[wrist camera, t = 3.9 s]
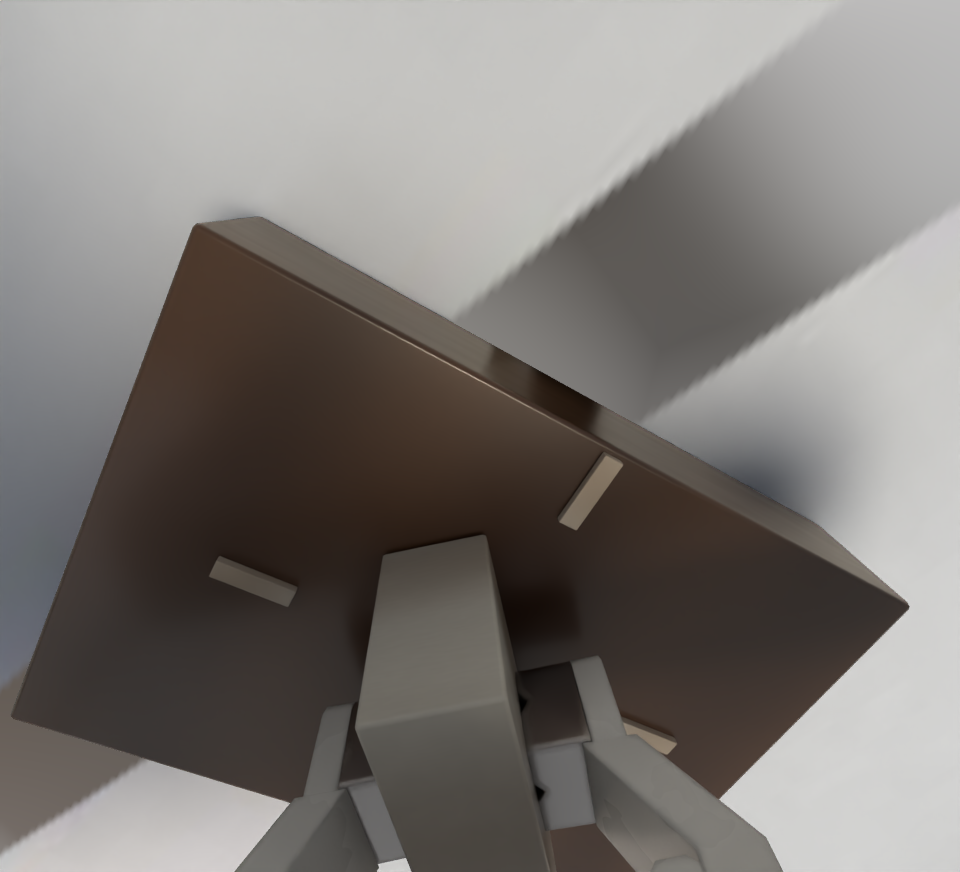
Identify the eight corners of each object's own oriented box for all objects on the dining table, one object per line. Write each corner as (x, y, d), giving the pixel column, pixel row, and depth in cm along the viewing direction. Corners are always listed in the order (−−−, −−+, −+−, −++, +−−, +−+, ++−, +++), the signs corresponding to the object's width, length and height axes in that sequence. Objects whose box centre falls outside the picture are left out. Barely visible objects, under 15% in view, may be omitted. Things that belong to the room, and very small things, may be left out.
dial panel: (95, 612, 14) (0, 726, 11) (257, 213, 10) (187, 221, 8) (588, 788, 17) (618, 911, 14) (819, 525, 14) (920, 612, 11)
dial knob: (381, 553, 10) (350, 746, 6) (485, 532, 10) (509, 714, 6) (451, 772, 12) (455, 1006, 8) (536, 755, 12) (575, 984, 8)
